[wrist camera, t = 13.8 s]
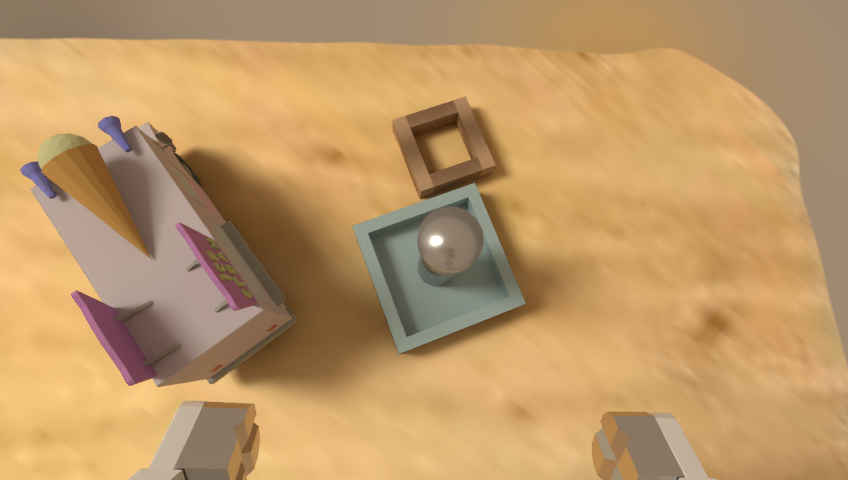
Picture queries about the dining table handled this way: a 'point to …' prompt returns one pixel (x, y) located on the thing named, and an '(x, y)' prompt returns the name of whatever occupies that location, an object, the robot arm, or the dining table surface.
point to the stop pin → (448, 244)
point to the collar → (432, 120)
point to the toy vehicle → (156, 257)
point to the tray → (424, 304)
